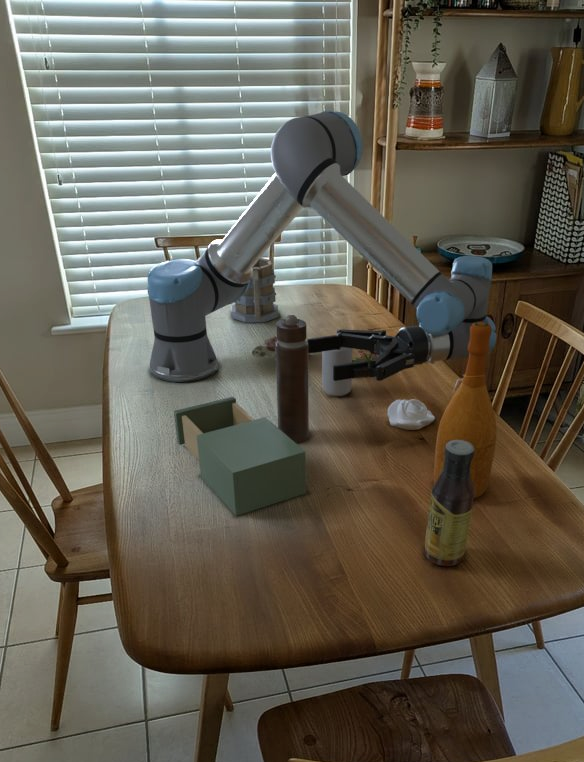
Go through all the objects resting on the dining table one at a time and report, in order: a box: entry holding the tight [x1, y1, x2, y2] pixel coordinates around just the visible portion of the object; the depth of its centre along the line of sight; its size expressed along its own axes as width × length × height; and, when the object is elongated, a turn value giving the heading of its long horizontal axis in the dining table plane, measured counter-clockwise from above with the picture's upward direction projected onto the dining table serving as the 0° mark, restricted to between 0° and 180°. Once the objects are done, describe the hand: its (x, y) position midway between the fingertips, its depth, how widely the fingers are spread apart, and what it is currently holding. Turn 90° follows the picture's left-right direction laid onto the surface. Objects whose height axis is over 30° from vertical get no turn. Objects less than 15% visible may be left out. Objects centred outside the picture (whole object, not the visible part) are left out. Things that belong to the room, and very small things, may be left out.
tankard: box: [230, 257, 279, 324], centre depth 192 cm, size 20×13×15 cm, turn 6°
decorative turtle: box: [251, 335, 322, 361], centre depth 174 cm, size 18×17×5 cm
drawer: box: [173, 396, 256, 462], centre depth 135 cm, size 15×12×7 cm
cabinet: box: [197, 416, 307, 517], centre depth 126 cm, size 14×13×8 cm
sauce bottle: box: [424, 440, 475, 567], centre depth 107 cm, size 7×6×20 cm
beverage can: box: [321, 347, 353, 397], centre depth 157 cm, size 6×6×12 cm
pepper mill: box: [275, 313, 310, 444], centre depth 136 cm, size 6×6×24 cm
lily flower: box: [352, 349, 378, 365], centre depth 169 cm, size 12×12×5 cm
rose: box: [386, 398, 436, 431], centre depth 148 cm, size 10×4×10 cm
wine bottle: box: [433, 322, 498, 499], centre depth 120 cm, size 10×10×30 cm
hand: (320, 359), depth 137 cm, fingers open, 13 cm apart
